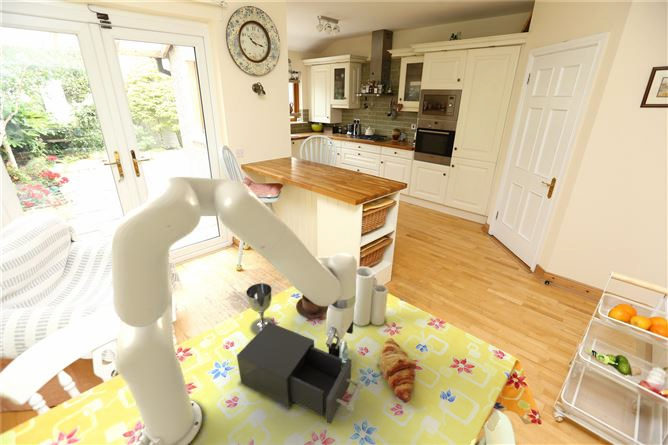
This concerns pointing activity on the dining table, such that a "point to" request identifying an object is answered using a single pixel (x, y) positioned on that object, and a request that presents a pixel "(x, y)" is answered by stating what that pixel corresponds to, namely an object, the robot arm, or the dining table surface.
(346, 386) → the drawer
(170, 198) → the robot arm
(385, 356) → the croissant
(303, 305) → the cup and saucer
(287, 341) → the cabinet
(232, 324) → the dining table surface
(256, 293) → the wine glass
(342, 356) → the pacifier
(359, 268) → the vase
